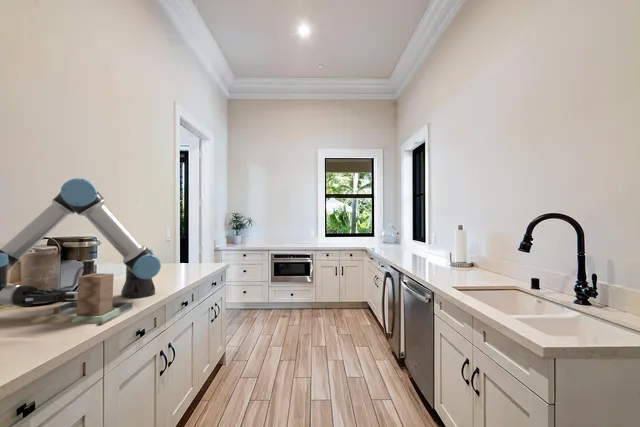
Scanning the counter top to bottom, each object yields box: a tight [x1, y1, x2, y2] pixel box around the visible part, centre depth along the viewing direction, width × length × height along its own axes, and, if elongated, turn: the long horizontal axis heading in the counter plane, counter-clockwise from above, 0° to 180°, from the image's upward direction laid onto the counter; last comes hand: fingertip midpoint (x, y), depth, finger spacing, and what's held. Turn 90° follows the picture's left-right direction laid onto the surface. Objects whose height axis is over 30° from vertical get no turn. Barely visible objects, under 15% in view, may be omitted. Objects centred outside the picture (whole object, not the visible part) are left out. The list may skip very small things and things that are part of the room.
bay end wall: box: [102, 309, 119, 321], centre depth 120 cm, size 1×10×3 cm, turn 3°
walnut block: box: [76, 272, 114, 316], centre depth 120 cm, size 8×8×16 cm
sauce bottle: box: [80, 259, 97, 277], centre depth 141 cm, size 7×6×20 cm
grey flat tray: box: [29, 301, 133, 326], centre depth 124 cm, size 25×21×3 cm
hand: (84, 296), depth 120 cm, fingers closed
